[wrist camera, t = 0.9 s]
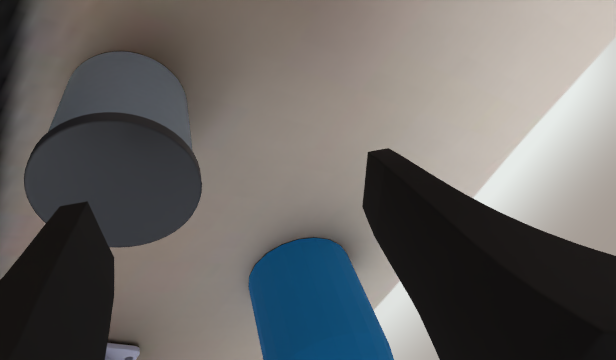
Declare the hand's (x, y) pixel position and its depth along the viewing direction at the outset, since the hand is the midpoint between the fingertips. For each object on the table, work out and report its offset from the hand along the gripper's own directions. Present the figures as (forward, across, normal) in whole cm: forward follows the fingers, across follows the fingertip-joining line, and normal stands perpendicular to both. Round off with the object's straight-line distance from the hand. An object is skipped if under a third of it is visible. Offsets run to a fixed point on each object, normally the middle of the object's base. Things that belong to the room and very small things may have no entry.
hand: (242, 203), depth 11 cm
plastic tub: (+10, +4, +2) cm, 11 cm away
